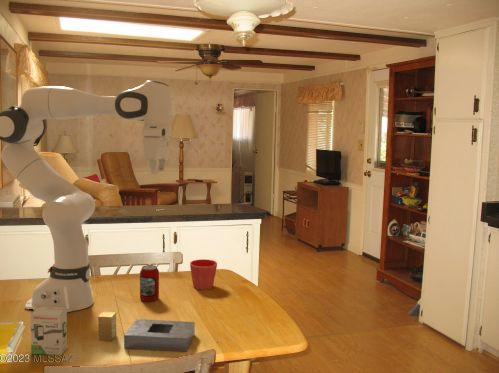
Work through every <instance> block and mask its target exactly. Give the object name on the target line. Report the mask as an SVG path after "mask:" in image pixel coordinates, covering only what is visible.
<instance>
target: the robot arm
mask: <svg viewBox="0 0 499 373" xmlns="http://www.w3.org/2000/svg"><path fill="white" fill-rule="evenodd" d="M172 108H173V107H172V92H171V88H170V86H169V85H168V84H167V83H165V82H162V81H159V80H152V79H151V80H149V79H148V80H146V81H145V82H143V84H141V85H139V86H137V87H134V88H132V89H128V90H123V91H121V92H120V93H119V94H118V95H117V96H110V95H100V94H99V95H98V94H94V93H89V92H86V91H84V90H80V89H76V88H72V87H68V86H67V87H66V86H60V85H58V86H57V85H53V86H52V85H47V86H45V85H44V86H37V87H29V88H28V89H26V90H25V91H24V93H22V97H21V103H20V105H14V104H13V105H11V106H10V107H9V108H7V109H4V110H3V111H0V141H2V142H4V143H6V145H5V146H4V147H3V148H2V150H1V152H0V158H1V161H2V163H3V165H4V166H5V167H6V168H7V170H8V172H10V174H12V176H13V177H14V179H16V180H17V181H18V183H20V184H21V185H22V186H23V188H25V190H26V191H28V193H29V194H31V196H33V197H34V198H36V199H39V200H41V201H42V202H45V203H46V204H45V206H44V207H43V209H42V215H41V216H42V220H43V223H44V224H45V225H46V226H47V227H48V228H49V231H50V234H51V238H52V242H53V252H54V253H53V254H54V255H53V256H54V257H53V259H54V263H53V264H52V266H50V267H49V268H48V269H47V274H48V273H49V276H48V277H46V278H45V279H44V280H42V281H41V282H39V284H37V285H36V286H35V287H34V288H33V291H32V294H31V295H32V297H31V298H30V299H28V300H27V302H26V303H25V304H24V305H25V306H24V308H26V310H29V309H33V310H32V311H34V310H35V309H36V308H38V307H53V308H66V309H67V313H70V312H76V311H79V310H83V309H84V310H85V309H86V308H89V307H91V306H92V305H93V304H94V303H95V301H94V298H93V295H92V290H91V284H90V283H91V282H90V279H91V269H90V268H91V266H90V263H89V243H88V240H87V239H86V238H85V234H84V232H83V226H82V224H83V223H84V222H85V221H87V220H88V219H90V218H91V216H92V215H93V214H94V212H95V209H96V202H95V199H94V197H93V196H92V195H91V194H89V193H88V192H85V191H83V190H81V189H80V188H78V187H77V186H76V185H74V184H73V183H72V182H70V181H69V180H67V179H66V178H64V177H63V176H62V175H60V173H58V172H57V171H56V170H55V169H54V168H53V167H52V166H51V165H50V164H49V162H48V161H46V159H44V158H43V156H41V155H40V154H39V153H38V151H37V150H36V149H35V147H37V146H38V145H39V144H40V142H41V139H42V138H43V137H44V136H45V134H46V131H47V128H48V125H47V121H46V120H58V121H59V120H72V119H73V120H74V119H78V118H83V117H88V116H96V115H119V117H121V118H123V119H125V120H129V121H140V122H143V123H144V125H143V128H142V129H141V136H142V137H143V138H142V143H143V156H144V159H145V161H149V166H150V174H152V175H156V174H157V173H158V172H164V171H165V165H166V160H167V158H169V157H170V155H171V148H170V147H171V146H170V145H171V144H170V143H171V142H170V137H171V136H172V117H171V113H172ZM157 163H158V164H157Z"/></svg>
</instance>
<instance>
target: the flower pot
mask: <svg viewBox="0 0 499 373" xmlns="http://www.w3.org/2000/svg"><path fill="white" fill-rule="evenodd" d="M189 267H190V274H191V282H192V286H193V288H194V289H197V290H202V291H203V290H204V291H205V290H210V289H213V287H214V284H215V278H216V274H217V267H218V262H217V261H215V260H213V259H202V258H201V259H195V260H194V259H193V260H191V261H190V263H189Z"/></svg>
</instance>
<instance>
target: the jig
mask: <svg viewBox="0 0 499 373" xmlns="http://www.w3.org/2000/svg"><path fill="white" fill-rule="evenodd" d="M195 324H196V323H195V321H180V320H162V319H161V320H160V319H141V318H136V319H135V321H134V322H133V323H132V324H131V326H130V327H129V328H128V330H126V332H125V333H124V335H123V349H125V350H126V349H128V350H143V351H144V350H145V351H160V352H161V351H162V352H179V353H181V352H182V353H187V352H188V350H189V348H190V346H191V343H192V341H193V339H194V336H195V333H196V332H195V330H196V329H195V328H196V327H195V326H196V325H195Z"/></svg>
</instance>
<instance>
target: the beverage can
mask: <svg viewBox="0 0 499 373" xmlns="http://www.w3.org/2000/svg"><path fill="white" fill-rule="evenodd" d="M159 294H160V271H159V269H158V266H157V265H154V264H147V265H142V267H141V269H140V271H139V298H140V300H142V301H144V302H154V301H156V300H158V298H159V297H160V295H159Z"/></svg>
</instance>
